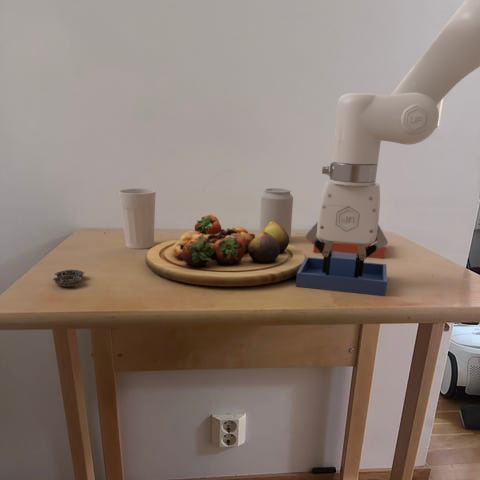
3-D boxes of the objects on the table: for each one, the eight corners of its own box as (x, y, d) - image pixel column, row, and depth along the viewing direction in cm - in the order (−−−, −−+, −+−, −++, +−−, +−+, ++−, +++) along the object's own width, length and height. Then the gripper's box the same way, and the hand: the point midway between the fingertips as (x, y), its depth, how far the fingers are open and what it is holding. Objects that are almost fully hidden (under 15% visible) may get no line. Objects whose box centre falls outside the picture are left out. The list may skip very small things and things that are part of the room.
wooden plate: (152, 245, 111) (150, 208, 108) (290, 244, 114) (292, 208, 110) (136, 290, 82) (133, 242, 78) (323, 288, 84) (327, 241, 81)
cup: (119, 249, 106) (115, 193, 101) (124, 241, 113) (120, 188, 109) (156, 249, 107) (154, 194, 102) (158, 241, 114) (156, 188, 110)
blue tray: (384, 276, 92) (386, 264, 91) (384, 295, 82) (387, 281, 81) (304, 269, 96) (305, 256, 95) (295, 286, 86) (296, 273, 85)
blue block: (354, 276, 90) (357, 253, 88) (353, 283, 86) (356, 259, 84) (330, 274, 91) (332, 251, 89) (328, 281, 87) (330, 257, 85)
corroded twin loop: (51, 289, 81) (50, 283, 81) (57, 275, 88) (56, 269, 88) (82, 287, 82) (81, 281, 82) (85, 273, 89) (85, 268, 89)
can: (271, 244, 113) (274, 192, 109) (253, 238, 119) (255, 188, 114) (296, 241, 117) (300, 190, 112) (277, 235, 123) (280, 186, 118)
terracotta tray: (383, 246, 114) (385, 235, 113) (384, 258, 104) (385, 247, 103) (319, 241, 118) (319, 230, 117) (313, 252, 108) (314, 241, 107)
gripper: (300, 173, 80) (292, 279, 87) (406, 179, 76) (389, 289, 83) (306, 169, 87) (298, 268, 94) (404, 174, 83) (389, 277, 90)
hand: (341, 277), depth 88 cm, fingers closed on blue block, 4 cm apart
